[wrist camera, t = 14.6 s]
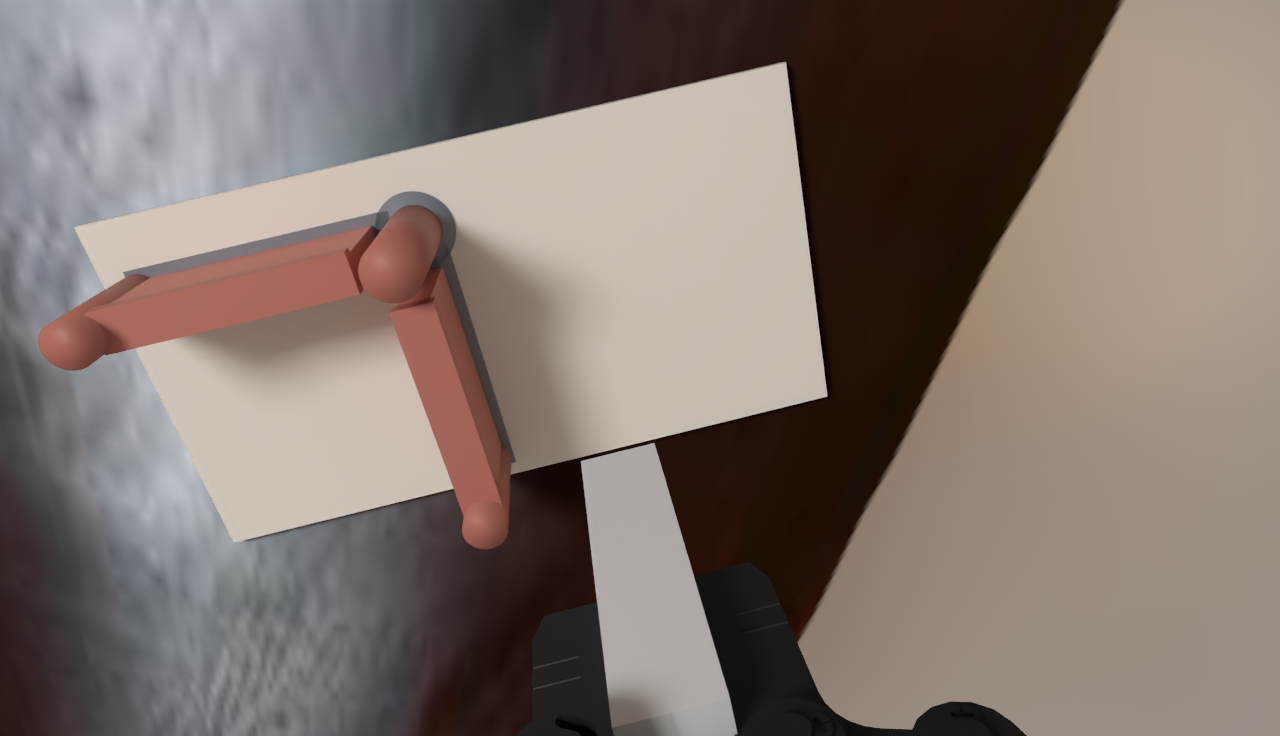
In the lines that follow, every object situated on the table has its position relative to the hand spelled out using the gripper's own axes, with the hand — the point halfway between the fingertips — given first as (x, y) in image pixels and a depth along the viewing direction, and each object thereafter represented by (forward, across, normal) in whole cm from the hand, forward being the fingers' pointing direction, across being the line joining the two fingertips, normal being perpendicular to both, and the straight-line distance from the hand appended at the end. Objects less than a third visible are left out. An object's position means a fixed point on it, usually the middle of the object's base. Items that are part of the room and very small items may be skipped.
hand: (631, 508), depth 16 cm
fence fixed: (+23, -13, +2) cm, 27 cm away
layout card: (+24, -5, -3) cm, 25 cm away
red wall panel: (+23, -7, -6) cm, 25 cm away
